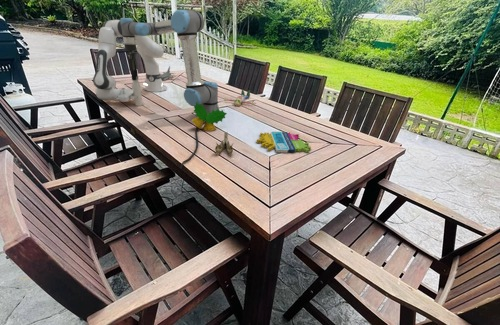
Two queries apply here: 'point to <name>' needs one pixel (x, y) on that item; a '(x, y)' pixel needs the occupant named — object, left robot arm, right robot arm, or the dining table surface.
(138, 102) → the bottle
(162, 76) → the airplane
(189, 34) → the right robot arm
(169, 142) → the dining table surface
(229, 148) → the jawbone
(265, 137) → the packaged gardening gloves
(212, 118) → the ornament
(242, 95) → the toy
